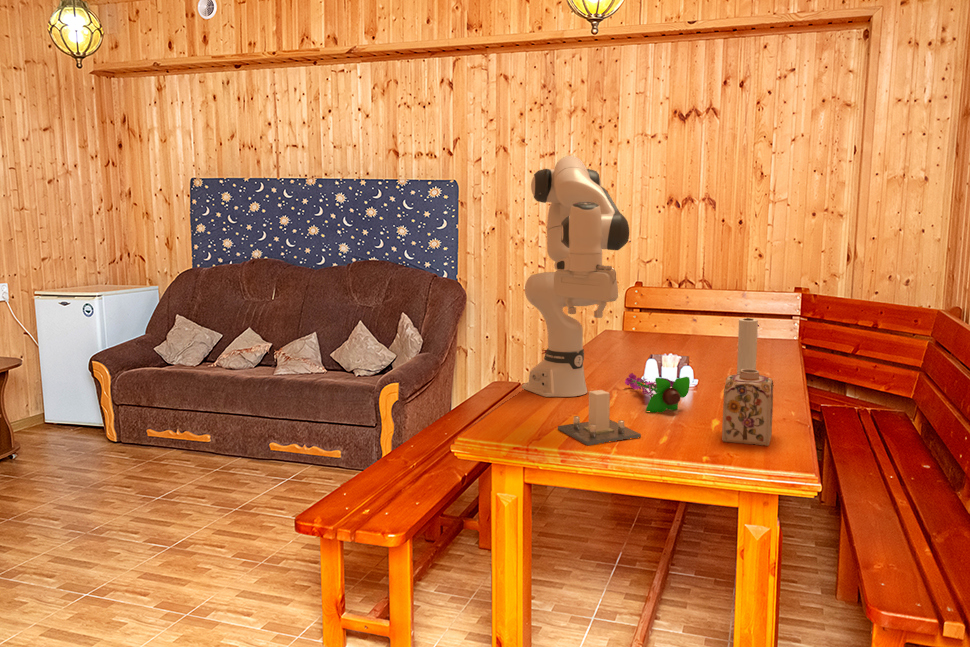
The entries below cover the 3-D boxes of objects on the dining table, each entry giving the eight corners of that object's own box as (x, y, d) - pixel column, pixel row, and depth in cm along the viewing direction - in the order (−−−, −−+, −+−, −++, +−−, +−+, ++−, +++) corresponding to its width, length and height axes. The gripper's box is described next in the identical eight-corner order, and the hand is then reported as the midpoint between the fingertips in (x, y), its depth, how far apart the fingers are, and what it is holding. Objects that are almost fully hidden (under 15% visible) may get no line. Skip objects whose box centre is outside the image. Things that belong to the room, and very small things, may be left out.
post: (588, 427, 217) (588, 391, 216) (601, 425, 219) (601, 389, 217) (596, 431, 214) (596, 394, 212) (609, 429, 215) (609, 393, 214)
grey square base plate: (557, 429, 221) (557, 415, 220) (608, 422, 227) (608, 408, 226) (587, 445, 206) (587, 430, 205) (640, 437, 212) (641, 422, 212)
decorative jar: (726, 429, 218) (728, 364, 216) (772, 434, 214) (775, 367, 211) (721, 442, 208) (723, 373, 205) (769, 447, 203) (772, 377, 200)
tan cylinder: (749, 384, 269) (751, 321, 266) (733, 381, 274) (735, 319, 270) (760, 381, 274) (763, 318, 270) (744, 378, 278) (746, 316, 275)
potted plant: (662, 430, 232) (617, 409, 267) (708, 399, 235) (658, 381, 269) (641, 395, 230) (599, 378, 265) (687, 363, 233) (640, 351, 267)
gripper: (623, 265, 209) (622, 318, 211) (565, 261, 224) (565, 310, 226) (607, 267, 205) (606, 321, 207) (549, 262, 220) (549, 313, 222)
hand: (584, 315), depth 217 cm, fingers open, 8 cm apart
